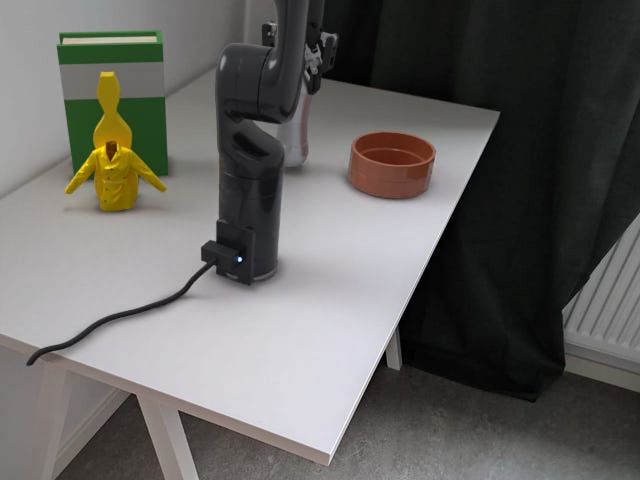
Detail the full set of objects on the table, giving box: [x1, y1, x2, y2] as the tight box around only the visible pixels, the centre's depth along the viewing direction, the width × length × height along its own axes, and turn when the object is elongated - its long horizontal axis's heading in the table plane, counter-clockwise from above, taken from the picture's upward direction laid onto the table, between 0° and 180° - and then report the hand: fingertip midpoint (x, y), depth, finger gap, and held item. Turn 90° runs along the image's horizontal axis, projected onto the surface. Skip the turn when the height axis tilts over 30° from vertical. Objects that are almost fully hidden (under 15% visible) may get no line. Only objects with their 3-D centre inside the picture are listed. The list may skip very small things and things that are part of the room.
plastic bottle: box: [275, 57, 313, 168], centre depth 132 cm, size 6×7×20 cm
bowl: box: [347, 130, 437, 199], centre depth 134 cm, size 15×15×6 cm
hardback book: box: [56, 29, 169, 180], centre depth 131 cm, size 18×7×24 cm, turn 96°
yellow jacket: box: [64, 72, 168, 212], centre depth 121 cm, size 18×8×22 cm, turn 93°
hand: (295, 89), depth 129 cm, fingers closed on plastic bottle, 6 cm apart
